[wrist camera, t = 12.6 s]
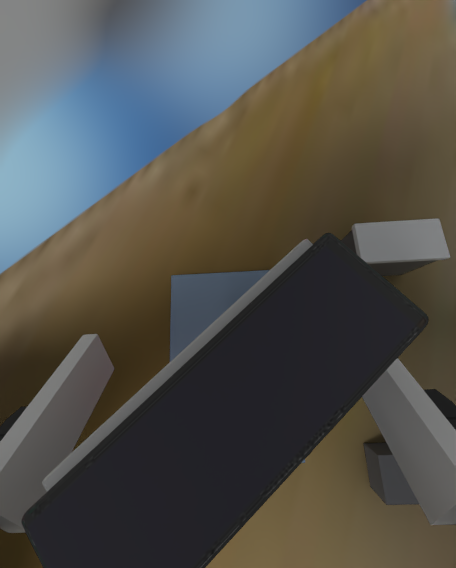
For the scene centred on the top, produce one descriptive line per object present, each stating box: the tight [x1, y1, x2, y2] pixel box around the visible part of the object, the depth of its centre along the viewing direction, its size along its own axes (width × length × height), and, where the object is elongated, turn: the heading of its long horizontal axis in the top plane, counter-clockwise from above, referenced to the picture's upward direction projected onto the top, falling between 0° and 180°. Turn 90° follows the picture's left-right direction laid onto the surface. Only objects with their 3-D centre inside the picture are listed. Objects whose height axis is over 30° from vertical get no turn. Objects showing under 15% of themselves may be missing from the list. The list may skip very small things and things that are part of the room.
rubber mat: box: [170, 270, 305, 463], centre depth 20 cm, size 11×16×1 cm
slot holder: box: [341, 218, 450, 505], centre depth 18 cm, size 6×20×5 cm, turn 2°
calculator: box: [21, 233, 428, 568], centre depth 13 cm, size 11×4×15 cm, turn 133°
